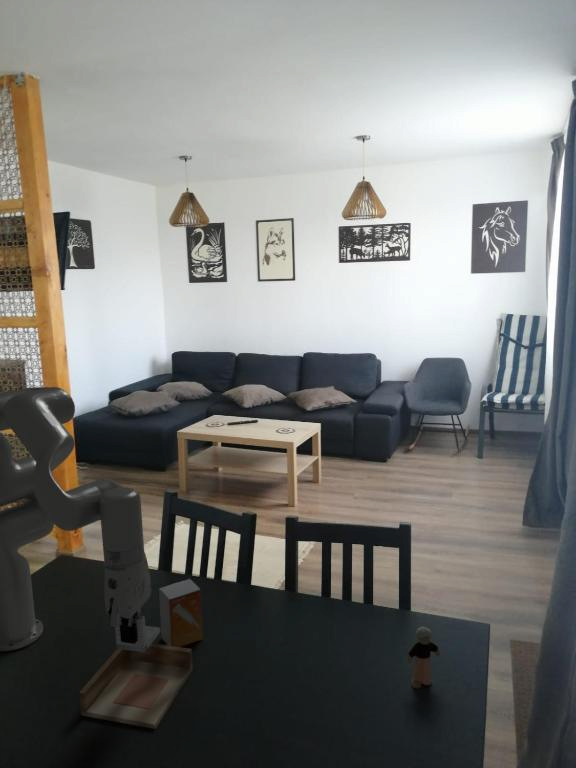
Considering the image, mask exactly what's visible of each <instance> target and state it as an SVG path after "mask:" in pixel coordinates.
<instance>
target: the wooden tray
mask: <svg viewBox="0 0 576 768" xmlns="http://www.w3.org/2000/svg"><path fill="white" fill-rule="evenodd" d="M193 664H194V662H193V649H192V648H187V647H183V646H182V647H175V646H168V645H167V644H161V643H154V642H152V643H151V645H150V646H149V647H148V649H147V650H146V651H145V652H137V651H130V650H123V649H117V648H116V649H115V650H114V652H113V653H112V654H111V655H110V657H109V658H108V659H107V660H106V661H105V662H104V663H103V665H102V666H101V667H100V668H99V669H98V670H97V672H96V673H94V674H93V676H92V677H91V679H89V681H87V683H86V684H85V685H84V686H83V688H81V690H80V691H79V693H78V696H79V697H78V698H79V704H80V715H81V716H83V717H89V718H94V719H98V720H106V721H110V722H116V723H121V724H124V725H125V724H127V725H131V726H137V727H143V728H147V729H148V728H149V729H153V730H156V728H157V727H158V726H159V724H160V723H161V721H162V719H163V718H164V716H165V714H167V712H168V710H169V708H170V707H171V706H172V703H173V702H174V700H175V698H176V697H177V696H178V694H179V693H180V691H181V689H182V688H183V686H184V684H185V683H186V682H187V680H188V678H189V677H190V675H191V674H192V672H193V670H194V667H193V666H194V665H193Z"/></svg>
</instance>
